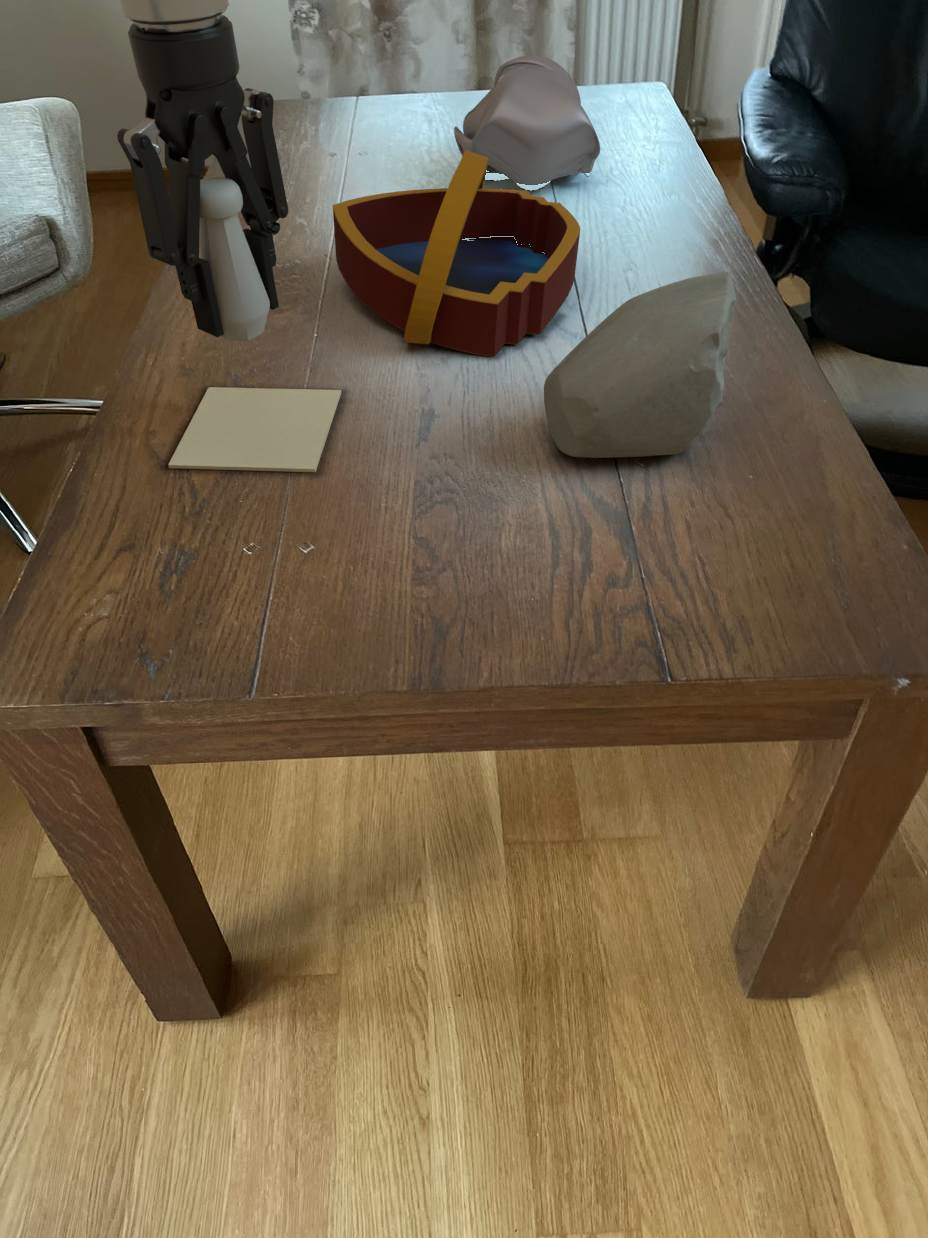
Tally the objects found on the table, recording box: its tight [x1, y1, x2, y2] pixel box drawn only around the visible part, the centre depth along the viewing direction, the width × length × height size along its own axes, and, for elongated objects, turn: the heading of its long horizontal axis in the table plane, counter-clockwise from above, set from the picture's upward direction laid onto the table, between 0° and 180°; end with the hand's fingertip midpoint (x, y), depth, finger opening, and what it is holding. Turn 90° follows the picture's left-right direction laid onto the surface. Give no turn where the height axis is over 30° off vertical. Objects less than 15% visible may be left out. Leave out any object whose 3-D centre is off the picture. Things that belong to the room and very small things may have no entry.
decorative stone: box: [543, 271, 737, 459], centre depth 86 cm, size 12×17×15 cm
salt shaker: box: [199, 176, 271, 342], centre depth 81 cm, size 6×6×13 cm
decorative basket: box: [332, 150, 581, 358], centre depth 109 cm, size 34×29×15 cm
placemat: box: [167, 386, 342, 473], centre depth 93 cm, size 14×14×1 cm
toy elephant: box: [453, 54, 601, 192], centre depth 135 cm, size 20×18×15 cm
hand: (238, 317), depth 85 cm, fingers closed on salt shaker, 6 cm apart
